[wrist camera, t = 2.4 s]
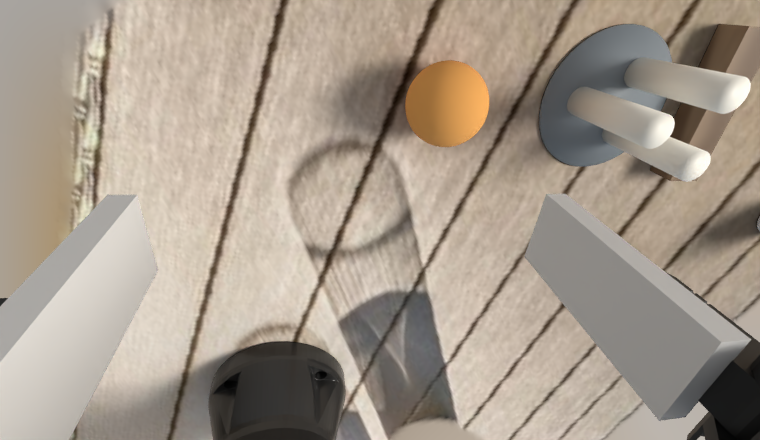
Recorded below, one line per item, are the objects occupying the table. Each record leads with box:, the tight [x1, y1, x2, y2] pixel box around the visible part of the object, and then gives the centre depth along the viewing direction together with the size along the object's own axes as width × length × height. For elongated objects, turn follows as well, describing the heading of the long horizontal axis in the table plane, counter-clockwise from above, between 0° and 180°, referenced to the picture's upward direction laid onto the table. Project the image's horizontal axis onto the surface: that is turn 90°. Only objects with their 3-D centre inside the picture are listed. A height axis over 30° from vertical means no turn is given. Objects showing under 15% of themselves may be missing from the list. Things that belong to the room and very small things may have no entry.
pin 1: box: [624, 57, 750, 114], centre depth 28 cm, size 2×2×8 cm
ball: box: [405, 60, 489, 147], centre depth 27 cm, size 6×6×6 cm
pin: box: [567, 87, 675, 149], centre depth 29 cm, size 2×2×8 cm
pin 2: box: [602, 129, 711, 181], centre depth 31 cm, size 2×2×8 cm
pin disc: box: [539, 24, 672, 166], centre depth 33 cm, size 12×12×1 cm
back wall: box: [650, 24, 760, 181], centre depth 33 cm, size 3×13×2 cm, turn 176°
